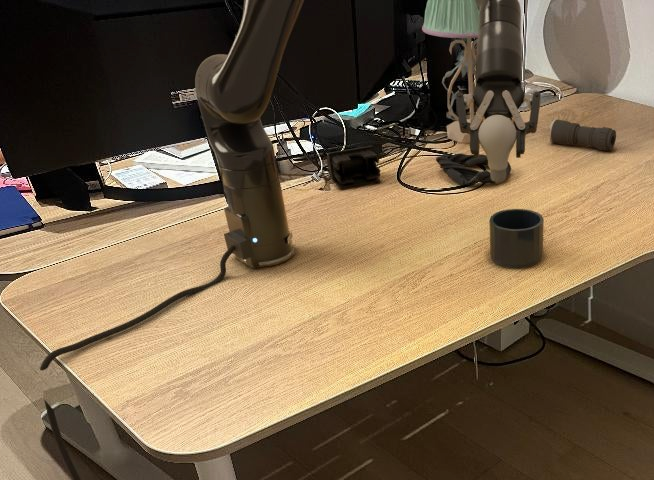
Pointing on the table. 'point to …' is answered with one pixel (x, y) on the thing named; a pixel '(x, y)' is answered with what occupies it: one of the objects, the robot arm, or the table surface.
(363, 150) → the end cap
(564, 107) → the table surface
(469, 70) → the table lamp
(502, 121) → the lightbulb
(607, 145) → the flashlight
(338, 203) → the table surface
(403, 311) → the table surface
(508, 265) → the pot
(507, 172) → the cable
